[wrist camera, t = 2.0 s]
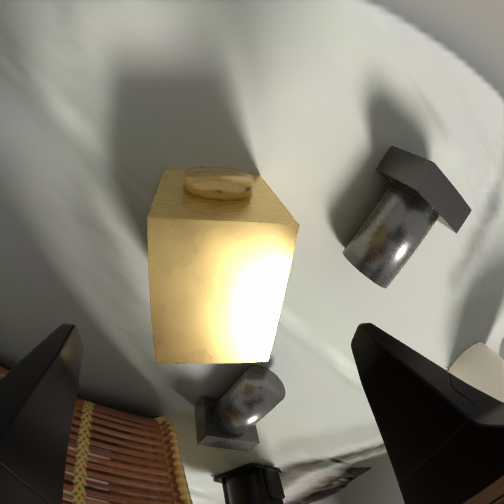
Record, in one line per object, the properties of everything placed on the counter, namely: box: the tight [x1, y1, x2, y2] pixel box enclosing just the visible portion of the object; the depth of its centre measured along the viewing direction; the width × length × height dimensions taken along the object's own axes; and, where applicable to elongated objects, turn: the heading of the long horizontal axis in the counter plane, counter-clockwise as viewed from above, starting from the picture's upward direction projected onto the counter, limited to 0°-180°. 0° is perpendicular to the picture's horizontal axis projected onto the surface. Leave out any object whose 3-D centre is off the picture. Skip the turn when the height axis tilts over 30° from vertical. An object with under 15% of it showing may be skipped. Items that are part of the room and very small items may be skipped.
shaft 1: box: [194, 366, 285, 451], centre depth 20 cm, size 6×4×4 cm
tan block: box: [147, 167, 299, 364], centre depth 13 cm, size 7×4×6 cm, turn 173°
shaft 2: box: [343, 146, 471, 288], centre depth 15 cm, size 6×4×4 cm
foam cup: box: [448, 342, 504, 402], centre depth 23 cm, size 10×9×13 cm
